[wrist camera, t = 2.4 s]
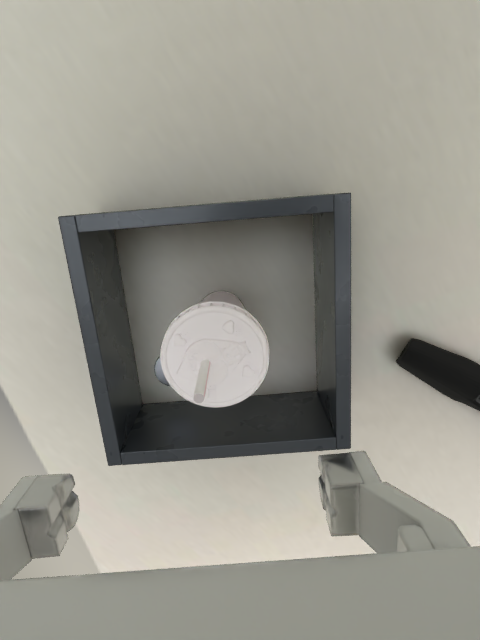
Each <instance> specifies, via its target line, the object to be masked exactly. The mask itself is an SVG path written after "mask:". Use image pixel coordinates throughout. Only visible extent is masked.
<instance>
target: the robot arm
mask: <svg viewBox="0 0 480 640" xmlns="http://www.w3.org/2000/svg"><path fill="white" fill-rule="evenodd" d="M318 467H319V470H320V473H321V476H320V477H319V490H320V497H321V502H322V506H323V509H324V510H326V520H327V523H328V527H329V530H330V533H331V536H349V535H359V536H360V537H361V538H362V539H363V540H364V541H365V542H366V543H367V544H368V545H369V546H370V547H371V548H372V549H373V550H374V551H375V552H377V554H363V555H349V556H335V557H321V558H307V559H293V560H279V561H265V562H252V563H238V564H224V565H210V566H196V567H182V568H168V569H154V570H140V571H127V572H113V573H99V574H85V575H72V576H57V577H43V578H30V579H15V580H11V579H12V578H13V577H14V576H15V575H16V574H17V573H18V572H19V571H21V570H22V569H23V568H24V567H25V566H26V565H27V564H28V563H29V562H30V561H31V560H32V559H34V558H44V557H54V556H60V554H61V552H62V550H63V548H64V546H65V544H66V542H67V540H68V535H67V532H68V531H70V530H71V529H72V528H73V527H74V526H75V524H76V522H77V520H78V515H79V499H78V496H77V495H76V494H75V493H74V492H73V491H72V489H73V487H74V486H75V482H74V478H73V476H72V475H71V474H53V475H37V476H36V475H35V476H25V477H23V478H21V480H20V481H19V482H18V483H17V485H16V486H15V487H14V489H13V490H12V491H11V492H10V494H9V495H8V496H7V497H6V499H5V500H4V501H3V503H2V504H1V505H0V640H480V546H475V547H471V546H470V545H469V543H468V542H467V540H466V539H465V537H464V536H463V534H462V533H461V531H460V530H459V529H458V527H457V526H456V524H455V523H454V521H452V520H451V519H449V518H447V517H445V516H444V515H442V514H440V513H439V512H437V511H435V510H434V509H432V508H430V507H428V506H427V505H425V504H423V503H422V502H420V501H418V500H416V499H415V498H413V497H411V496H410V495H408V494H406V493H404V492H403V491H401V490H399V489H398V488H396V487H394V486H392V485H391V484H389V483H387V482H382V481H381V479H380V477H379V476H378V474H377V472H376V470H375V468H374V466H373V464H372V463H371V461H370V459H369V457H368V455H367V453H366V452H365V451H357V452H349V453H340V454H329V455H319V457H318Z"/></svg>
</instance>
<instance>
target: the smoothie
mask: <svg viewBox="0 0 480 640" xmlns="http://www.w3.org/2000/svg"><path fill="white" fill-rule="evenodd" d="M160 360H161V367H162V370H163V373H164V376H165V378H166V380H167V381H168V383H169V384H170V386H171V387H172V388H173V389H174V390H175V391H176V392H177V393H178V394H179V395H180V396H182V397H183V398H185V399H186V400H188V401H190V402H192V403H194V404H197V405H200V406H205V407H215V408H216V407H226V406H231V405H234V404H237V403H239V402H241V401H243V400H245V399H246V398H248V397H249V396H251V395H252V394H253V393H254V392H255V391H256V390H257V389H258V388H259V386H260V385H261V384H262V382H263V380H264V378H265V376H266V374H267V370H268V366H269V344H268V340H267V336H266V333H265V331H264V330H263V328H262V326H261V324H260V323H259V322H258V321H257V320H256V319H255V318H254V317H253V316H252V315H251V314H250V313H249V312H248V311H246V309H245V308H244V306H243V304H242V303H241V301H240V300H239V299H238V298H237V297H236V296H235V295H233V294H232V293H229V292H226V291H217V292H213V293H211V294H209V295H207V296H206V297H205V298H204V299H203V300H202V301H201V302H199V303H198V304H196V305H193V306H191V307H189V308H188V309H186V310H184V311H182V312H181V313H180V314H179V315H178V316H177V317H176V318H175V319H174V320H173V321H172V322H171V324H170V325H169V327H168V329H167V331H166V332H165V335H164V339H163V342H162V345H161V352H160Z"/></svg>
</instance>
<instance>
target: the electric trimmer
mask: <svg viewBox="0 0 480 640" xmlns="http://www.w3.org/2000/svg"><path fill="white" fill-rule="evenodd" d="M396 362H397V363H398V364H399V365H400V366H401V367H402V368H404V369H405V370H407V371H408V372H410V373H412V374H413V375H415V376H416V377H418V378H419V379H421V380H422V381H424V382H425V383H427V384H429V385H430V386H432V387H433V388H435V389H436V390H438V391H439V392H441V393H442V394H444V395H446V396H448V397H450V398H451V399H453V400H456V401H459V402H462V403H464V404H466V405H468V406H470V407H473V408H475V409H477V410H479V411H480V365H479V364H477V363H476V362H474V361H471V360H469V359H467V358H465V357H462V356H459V355H457V354H454V353H452V352H449V351H447V350H444V349H442V348H439V347H436V346H434V345H431V344H429V343H426V342H424V341H421V340H418V339H414V338H412V339H411V340H410V341H409V343H408V344H407V345H406V347H405V348H404V350H403V351H402V353H401V354H400V356H399V357H398V359H397V360H396Z"/></svg>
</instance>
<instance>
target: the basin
mask: <svg viewBox="0 0 480 640" xmlns="http://www.w3.org/2000/svg"><path fill="white" fill-rule="evenodd" d="M304 214H313V248H314V287H315V327H316V366H317V391H314V392H300V393H287V394H273V395H260V396H249V397H248V398H246V399H245V400H243V401H241V402H239V403H237V404H234V405H231V406H226V407H216V408H215V407H205V406H200V405H197V404H194V403H192V402H190V401H179V402H165V403H152V404H143V405H142V400H141V393H140V387H139V381H138V375H137V369H136V363H135V357H134V351H133V345H132V339H131V333H130V327H129V321H128V315H127V309H126V303H125V296H124V290H123V284H122V278H121V272H120V266H119V260H118V254H117V248H116V242H115V236H114V230H118V229H131V228H143V227H155V226H168V225H180V224H193V223H205V222H217V221H230V220H242V219H254V218H267V217H279V216H291V215H304ZM58 219H59V224H60V229H61V234H62V239H63V244H64V249H65V254H66V259H67V264H68V269H69V273H70V278H71V283H72V288H73V293H74V298H75V303H76V308H77V313H78V318H79V323H80V328H81V333H82V338H83V343H84V348H85V353H86V358H87V363H88V368H89V373H90V377H91V382H92V387H93V392H94V397H95V402H96V407H97V412H98V417H99V422H100V427H101V432H102V437H103V442H104V447H105V452H106V457H107V462H108V466H112V465H128V464H142V463H156V462H170V461H184V460H198V459H212V458H225V457H239V456H253V455H267V454H281V453H295V452H309V451H323V450H336V449H350V448H351V193H338V194H323V195H310V196H298V197H286V198H274V199H261V200H249V201H237V202H225V203H212V204H200V205H188V206H176V207H163V208H151V209H139V210H126V211H114V212H102V213H91V214H80V215H70V216H59V217H58ZM154 370H155V375H156V377H157V378H158V380H159V381H160V382H161V383H163V384H165V385H167V386H170V384H169V383H168V381H167V380H166V378H165V376H164V373H163V370H162V367H161V360H160V357H159V358H158V360H157V361H156V364H155V368H154Z"/></svg>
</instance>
